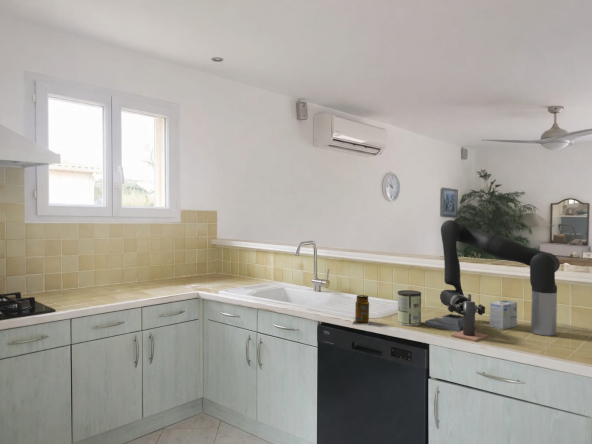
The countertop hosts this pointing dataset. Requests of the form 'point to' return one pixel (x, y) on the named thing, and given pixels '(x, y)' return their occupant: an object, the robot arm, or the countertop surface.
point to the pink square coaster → (471, 338)
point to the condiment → (362, 310)
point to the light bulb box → (503, 314)
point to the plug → (469, 317)
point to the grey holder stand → (447, 322)
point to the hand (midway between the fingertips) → (470, 312)
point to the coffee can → (409, 307)
